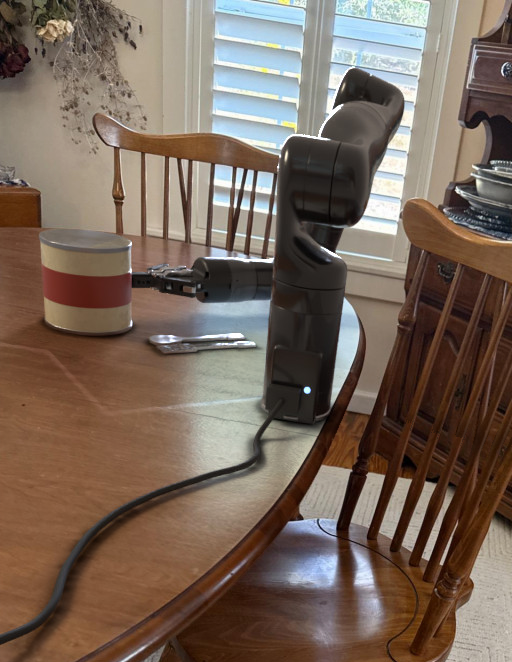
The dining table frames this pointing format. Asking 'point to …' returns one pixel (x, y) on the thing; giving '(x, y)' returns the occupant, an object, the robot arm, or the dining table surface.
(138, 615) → the dining table surface
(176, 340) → the spoon
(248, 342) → the fork
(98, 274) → the coffee tin
